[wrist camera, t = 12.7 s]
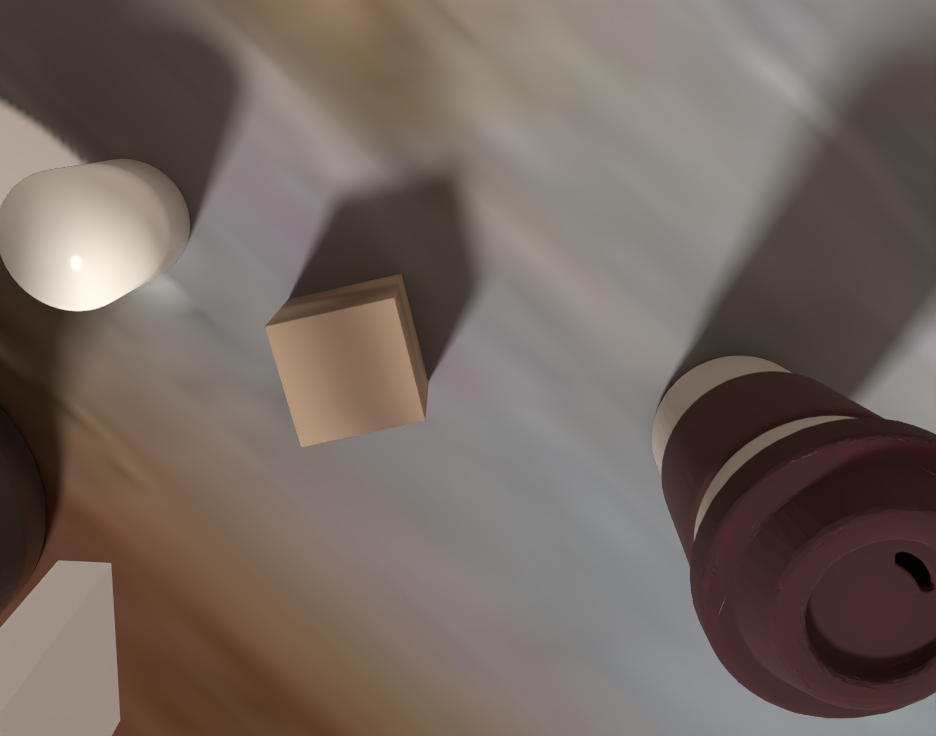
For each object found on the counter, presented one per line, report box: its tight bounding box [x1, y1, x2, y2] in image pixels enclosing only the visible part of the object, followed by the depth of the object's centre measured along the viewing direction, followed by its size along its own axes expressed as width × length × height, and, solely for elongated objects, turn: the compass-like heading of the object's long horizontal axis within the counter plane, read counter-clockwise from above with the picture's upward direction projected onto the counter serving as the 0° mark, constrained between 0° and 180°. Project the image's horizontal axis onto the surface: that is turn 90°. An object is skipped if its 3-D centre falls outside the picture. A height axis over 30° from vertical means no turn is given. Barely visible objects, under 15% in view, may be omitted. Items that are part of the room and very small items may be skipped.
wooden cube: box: [265, 274, 428, 447], centre depth 35 cm, size 5×5×5 cm
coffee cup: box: [652, 356, 936, 718], centre depth 32 cm, size 10×10×15 cm
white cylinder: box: [0, 159, 190, 311], centre depth 33 cm, size 5×5×6 cm
